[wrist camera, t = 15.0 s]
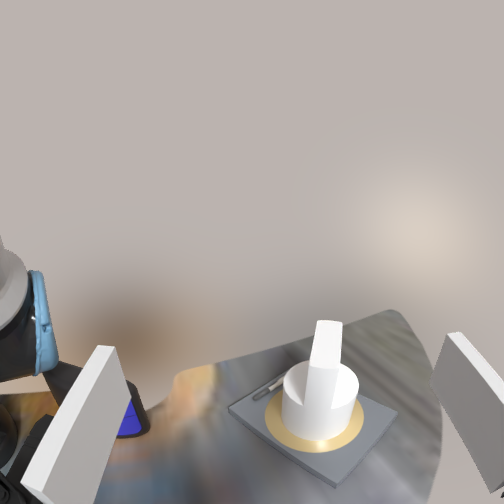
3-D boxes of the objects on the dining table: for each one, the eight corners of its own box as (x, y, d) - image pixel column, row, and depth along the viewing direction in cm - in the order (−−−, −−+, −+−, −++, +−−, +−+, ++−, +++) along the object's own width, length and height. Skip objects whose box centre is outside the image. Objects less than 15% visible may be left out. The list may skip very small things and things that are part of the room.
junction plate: (229, 413, 38) (228, 403, 37) (297, 368, 47) (298, 358, 46) (335, 488, 25) (338, 480, 25) (395, 418, 34) (399, 408, 34)
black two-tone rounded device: (49, 418, 33) (23, 369, 30) (64, 400, 37) (42, 351, 34) (141, 453, 30) (119, 403, 27) (154, 428, 35) (136, 377, 32)
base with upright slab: (347, 444, 30) (370, 372, 26) (274, 435, 33) (277, 363, 29) (351, 394, 38) (367, 323, 34) (288, 387, 41) (292, 316, 37)
